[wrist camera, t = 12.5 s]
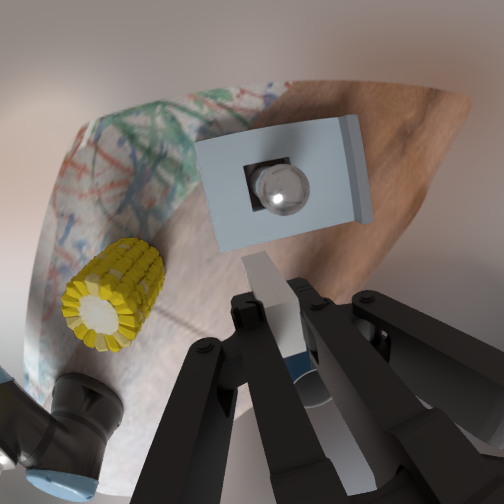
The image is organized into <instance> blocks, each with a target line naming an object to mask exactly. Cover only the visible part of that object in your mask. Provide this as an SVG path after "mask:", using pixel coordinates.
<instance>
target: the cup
mask: <svg viewBox="0 0 504 504" xmlns="http://www.w3.org/2000/svg"><path fill="white" fill-rule="evenodd" d="M305 344H306V342H305ZM306 350H307V351H304V352H301V353H298V354H295V355H292V356H288V357H285V358H283V359H284V362H285V364H286V366H287V369H288V371H289V373H290V376H291V378H292V380H293V383H294V385H295V387H296V390H297V392H298V394H299V397H300V399H301V401H302V404H303V406H304V408H312V407H317V406H320V405H323V404H325V403H327V402H328V401H330V400H331V399H333V398H332V397H331V395H330V393H329V391H328V389H327V387H326V386H325V384H324V382H323V380H322V378H321V376H320V375H319V373H318V371H317V369H316V367H315V365H314V369H313V370H312V368H311V361H310V354H309V348H308V346H307V344H306Z"/></svg>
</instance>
